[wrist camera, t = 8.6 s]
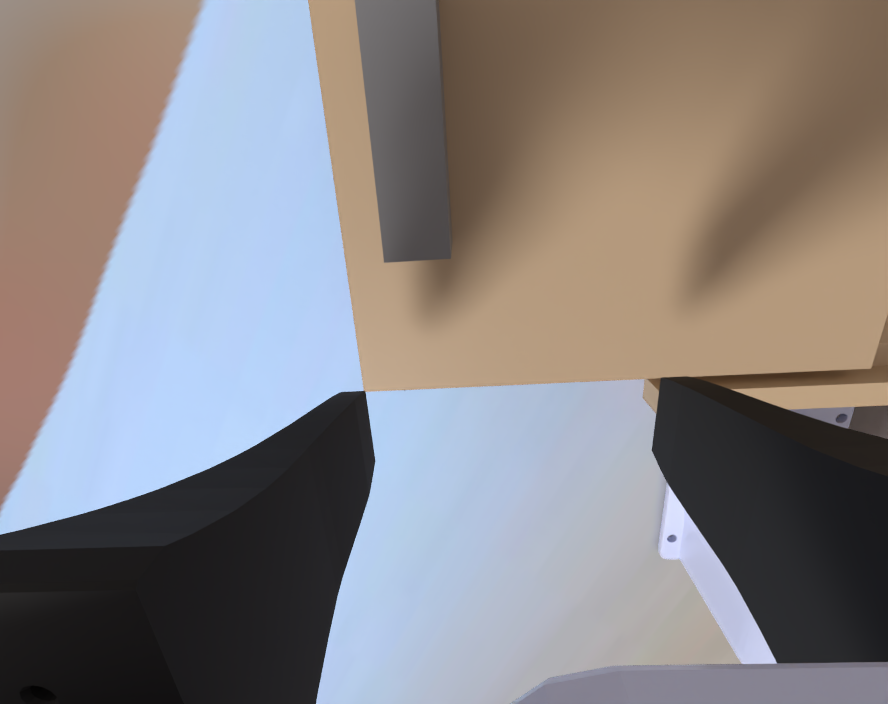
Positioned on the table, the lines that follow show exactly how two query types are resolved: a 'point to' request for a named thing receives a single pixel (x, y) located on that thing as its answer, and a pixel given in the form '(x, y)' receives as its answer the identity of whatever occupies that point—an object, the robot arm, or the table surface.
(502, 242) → the lid
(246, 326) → the table surface
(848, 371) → the wooden box
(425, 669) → the table surface
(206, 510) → the robot arm
